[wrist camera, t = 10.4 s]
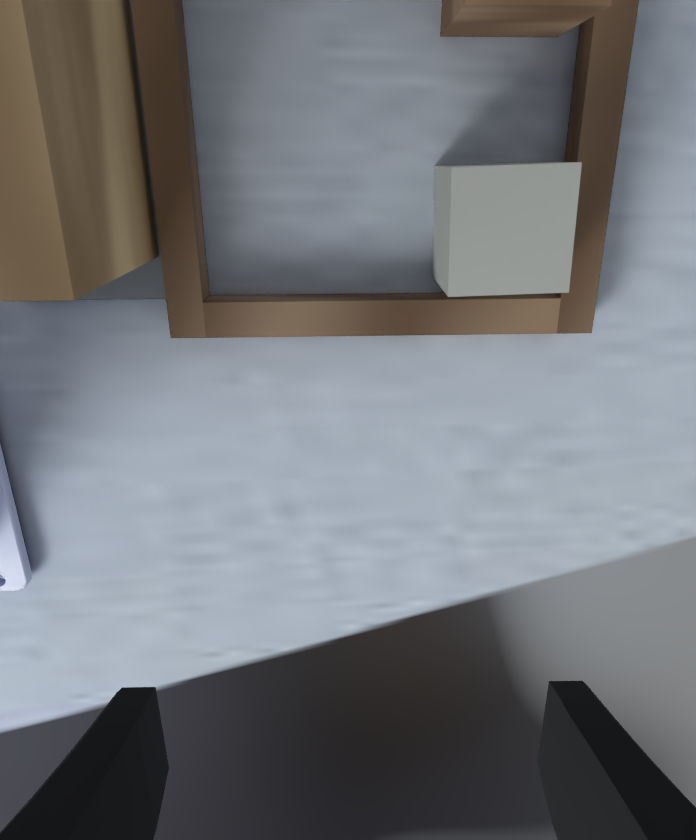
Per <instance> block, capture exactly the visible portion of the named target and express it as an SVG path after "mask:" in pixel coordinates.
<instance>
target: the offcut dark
mask: <svg viewBox="0 0 696 840" xmlns="http://www.w3.org/2000/svg"><path fill="white" fill-rule="evenodd" d="M611 3H612V0H442V13H441V32H440V36H445V37H559V36H561V35H562V34H564V33H566V32H567V31H569V30H571V29H572V28H574V27H576V26H578V25H579V24H581V23H583V22H584V21H586V20H588V19H589V18H591V17H593V16H595V15H596V14H598V13H600V12H601V11H603V10H605V9H606V8H608V7H610V6H611Z"/></svg>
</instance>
